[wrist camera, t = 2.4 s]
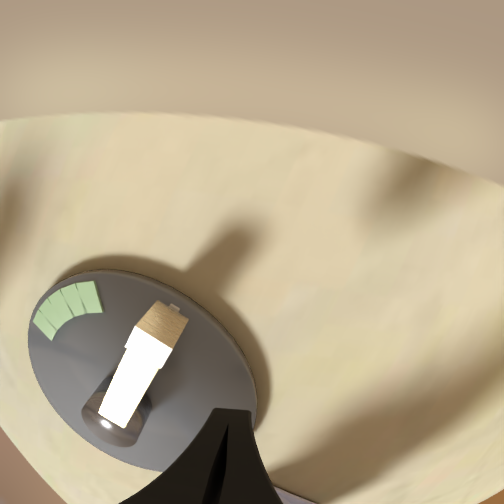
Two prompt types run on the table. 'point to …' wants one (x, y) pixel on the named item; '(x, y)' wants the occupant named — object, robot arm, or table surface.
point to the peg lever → (133, 379)
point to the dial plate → (112, 352)
